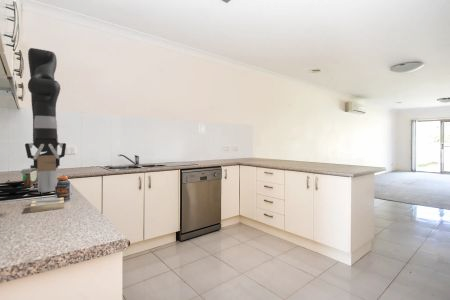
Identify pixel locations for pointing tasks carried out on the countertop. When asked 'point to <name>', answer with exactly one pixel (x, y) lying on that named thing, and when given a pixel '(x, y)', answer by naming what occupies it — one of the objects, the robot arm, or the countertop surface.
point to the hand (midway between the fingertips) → (47, 167)
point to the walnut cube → (46, 163)
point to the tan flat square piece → (47, 204)
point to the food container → (29, 176)
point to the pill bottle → (62, 188)
